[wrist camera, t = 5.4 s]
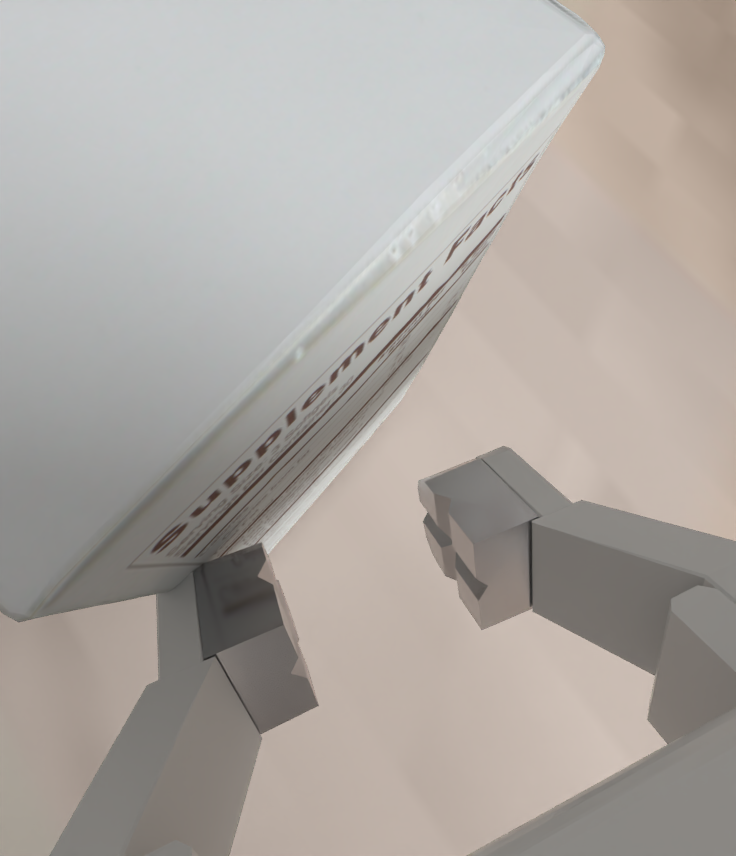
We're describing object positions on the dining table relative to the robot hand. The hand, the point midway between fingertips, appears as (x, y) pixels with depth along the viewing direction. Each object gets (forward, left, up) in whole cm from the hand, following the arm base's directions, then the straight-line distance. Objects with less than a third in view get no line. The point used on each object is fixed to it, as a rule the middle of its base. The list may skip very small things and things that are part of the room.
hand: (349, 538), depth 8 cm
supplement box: (+3, +4, -8) cm, 10 cm away
